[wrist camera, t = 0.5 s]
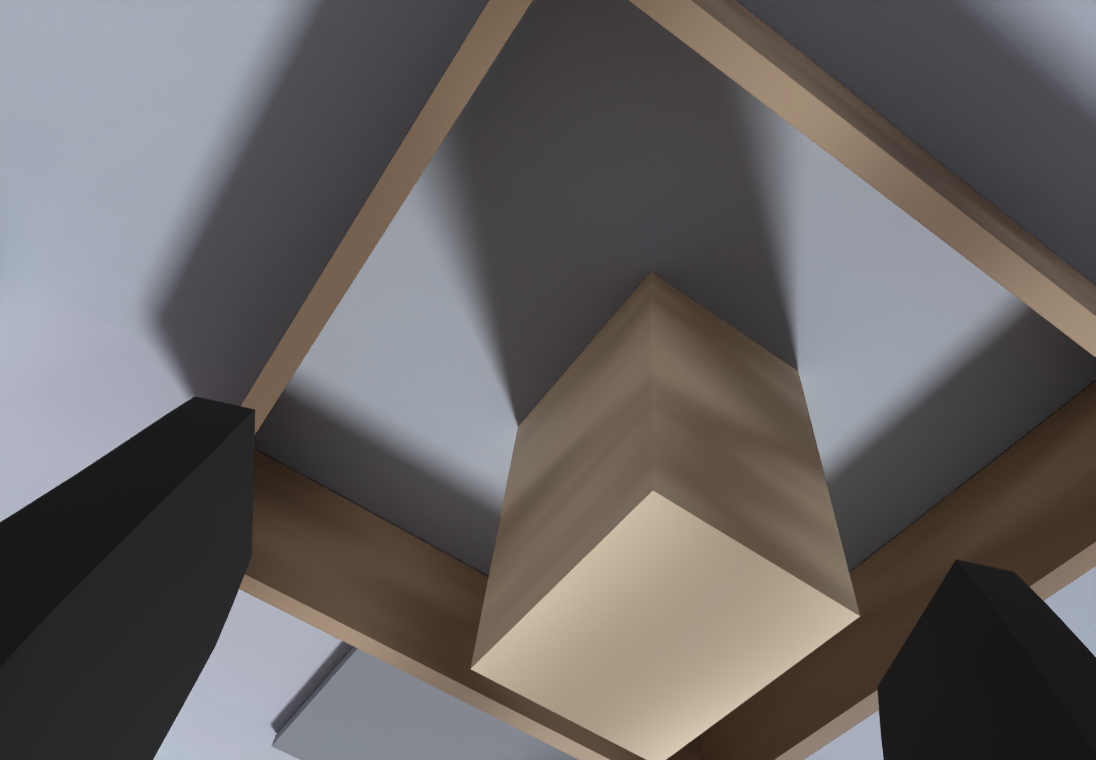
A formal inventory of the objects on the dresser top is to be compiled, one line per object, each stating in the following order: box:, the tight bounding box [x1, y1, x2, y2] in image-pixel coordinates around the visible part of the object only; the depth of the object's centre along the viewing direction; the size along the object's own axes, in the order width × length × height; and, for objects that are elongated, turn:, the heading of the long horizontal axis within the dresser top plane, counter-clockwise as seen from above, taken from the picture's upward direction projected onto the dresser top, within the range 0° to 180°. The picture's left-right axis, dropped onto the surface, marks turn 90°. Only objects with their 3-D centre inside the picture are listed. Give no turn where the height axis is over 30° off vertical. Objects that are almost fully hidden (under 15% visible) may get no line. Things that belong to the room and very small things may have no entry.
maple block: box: [471, 271, 860, 760], centre depth 18 cm, size 4×5×7 cm
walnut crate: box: [239, 0, 1096, 760], centre depth 19 cm, size 15×15×4 cm
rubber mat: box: [272, 646, 579, 760], centre depth 28 cm, size 9×8×1 cm
